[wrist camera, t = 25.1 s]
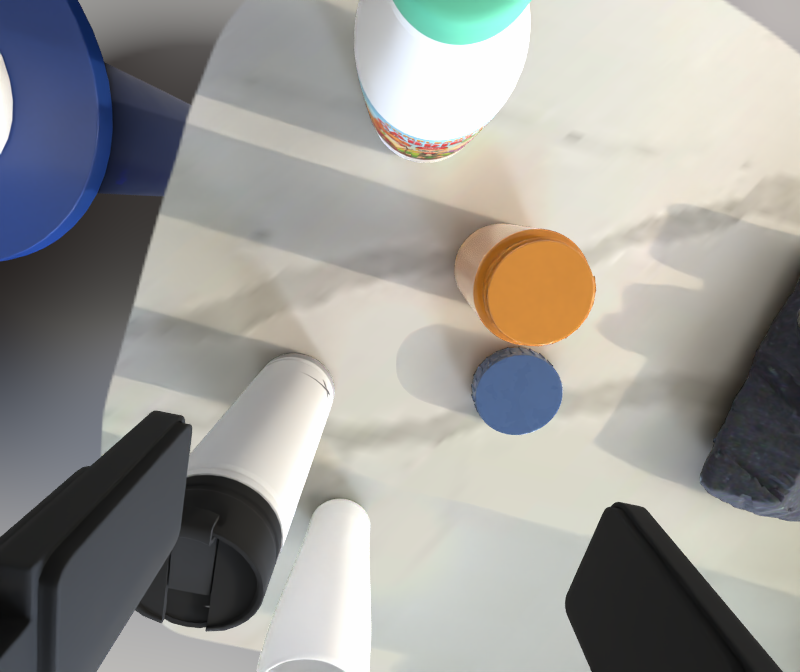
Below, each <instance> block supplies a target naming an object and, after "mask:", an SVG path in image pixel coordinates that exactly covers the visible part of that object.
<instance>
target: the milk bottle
mask: <svg viewBox="0 0 800 672" xmlns="http://www.w3.org/2000/svg"><path fill="white" fill-rule="evenodd" d="M530 2H531V0H360V1H359V4H358V8H357V13H356V19H355V30H354V52H355V61H356V66H357V72H358V77H359V81H360V85H361V89H362V92H363V96H364V99H365V102H366V106H367V109H368V112H369V115H370V118H371V121H372V123H373V126H374V128H375V130H376V132H377V134H378V135H379V137H380V139H381V140H382V141H383V143H384V144H385V145H386V146H387V147H388V148H389V149H390V150H391V151H393V152H394V153H395V154H397V155H398V156H400V157H402V158H404V159H406V160H410V161H413V162H419V163H431V162H437V161H440V160H444V159H446V158H448V157H450V156H452V155H454V154H455V153H457V152H458V151H459V150H461V149H462V148H463V147H464V146H465V145H466V144H467V143H468V142H470V141H471V140H472V139H473V138H474V137H475V136H476V135H477V134H478V133H479V132H480V131H481V130H482V129H483V128H484V127H485V126H486V124H487V123H488V122H489V121H490V120H491V119H492V118H493V117H494V116H495V115H496V113H497V112H498V111H499V110H500V108H501V107H502V106H503V104H504V103H505V102H506V100H507V99H508V97H509V96H510V94H511V93H512V91H513V89H514V87H515V85H516V83H517V80H518V78H519V76H520V74H521V71H522V69H523V66H524V63H525V59H526V55H527V50H528V44H529V38H530V7H529V3H530Z"/></svg>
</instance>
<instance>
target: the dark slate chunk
mask: <svg viewBox="0 0 800 672" xmlns="http://www.w3.org/2000/svg"><path fill="white" fill-rule="evenodd" d="M799 311H800V279H799V281H798V282H797V284H796V287H795V291H794V292H793V293H792V294H791V295H790V296H789V297H788V299H787V302H786V303H785V305H784V306H783V308H782V309H781V311H780V312H779V314H778V315H777V317H776V318H775V319H774V321H773V323H772V324H771V327H770V329H769V330H768V333H767V335H766V337H765V338H764V339H763V341H762V342H761V345H760V346H759V348H758V349H757V351H756V354H755V357H754V360H753V364H752V367H751V369H750V371H749V377H748V379H747V380H746V382H745V384H744V385H743V387H742V388H741V390H740V391H739V393H738V394H737V395H736V398H735V400H734V401H733V403H732V407H731V410H730V411H729V413H728V415H727V417H726V419H725V423H724V424H723V425H722V427H721V429H720V431H719V432H718V434H717V437H715V438H714V440H713V442H714V443H715V444H714V446H713V449H712V451H711V452H710V454H709V456H708V457H707V459H706V461H705V463H704V466H703V469H702V472H701V474H700V483H701V485H702V486H703V487H704V488H705V489H706V491H707V492H708V493H709V494H711V495H713V496H714V497H717V498H719V499H720V500H721V501H723V502H726V503H729V504H731V505H732V506H733V507H736V508H739V509H743V510H747V511H750V512H753V513H754V514H757V515H760V516H768V517H774V518H779V519H782V520H786V521H800V327H798V322H797V319H798V316H799Z"/></svg>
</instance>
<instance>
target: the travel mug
mask: <svg viewBox="0 0 800 672" xmlns="http://www.w3.org/2000/svg"><path fill="white" fill-rule="evenodd" d="M334 394H335V388H334V382H333V379H332V376H331V375H330V373H329V371H328V370H327V369H326V367H325V366H324V365H323V364H322V363H320V362H319V361H318V360H316V359H314V358H312V357H311V356H308V355H304V354H299V353H288V354H284V355H280V356H278V357H276V358H274V359H272V360H271V361H270V362H268V363H267V365H266V366H265V367H264V368H263V369H262V370H261V372H260V373H259V374H258V375H257V376H256V377H255V379H254V380H253V381H252V382H251V383H250V384H249V386H248V387H247V388H246V389H245V390H244V391H243V393H242V394H241V395H240V396H239V397H238V399H237V400H236V401H235V402H234V403H233V404H232V406H231V407H230V408H229V409H228V410H227V411H226V413H225V414H224V415H223V416H222V417H221V418H220V420H219V421H218V422H217V423H216V424H215V425H214V427H213V428H212V429H211V430H210V431H209V433H208V434H207V435H206V436H205V437H204V438H203V440H202V441H201V442H200V443H199V444H198V445H197V447H196V448H195V449H194V450H193V451H192V452H191V454H190V455H189V462H188V470H187V478H186V487H185V495H184V504H183V512H182V520H181V528H180V533H179V536H178V539H177V541H176V544H175V546H174V548H173V549H172V551H171V552H170V554H169V556H168V557H167V559H166V561H165V562H164V564H163V565H162V567H161V569H160V570H159V572H158V573H157V575H156V577H155V578H154V580H153V581H152V583H151V585H150V586H149V588H148V589H147V591H146V593H145V594H144V596H143V598H142V599H141V601H140V602H139V604H138V606H137V607H136V609H135V610H136V611H137V612H139V613H140V614H141V615H143V616H145V617H147V618H150V619H152V620H155V621H157V622H159V623H162V622H163V620H164V619H166V620H168V621H169V622H171V623H174V624H178V625H182V626H186V627H195V628H203V627H206V631H223V630H227V629H230V628H234V627H237V626H238V625H240V624H242V623H244V622H246V621H247V620H249V619H250V618H251V617H252V616H253V615H254V614H255V613H256V612H257V610H258V609H259V607H260V606H261V604H262V601H263V598H264V596H265V593H266V590H267V587H268V584H269V581H270V578H271V575H272V573H273V569H274V566H275V564H276V561H277V560H278V558H279V556H280V553H281V550H282V547H283V544H284V542H285V539H286V536H287V533H288V530H289V527H290V524H291V521H292V519H293V516H294V513H295V510H296V507H297V504H298V501H299V498H300V495H301V492H302V490H303V487H304V484H305V481H306V478H307V475H308V472H309V469H310V466H311V464H312V461H313V458H314V455H315V452H316V449H317V446H318V443H319V440H320V437H321V435H322V432H323V429H324V426H325V423H326V420H327V417H328V414H329V411H330V408H331V406H332V403H333V400H334Z"/></svg>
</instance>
